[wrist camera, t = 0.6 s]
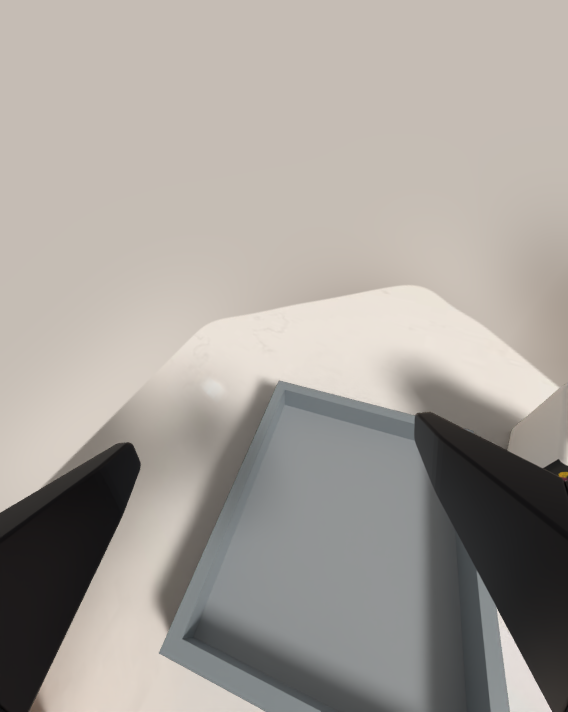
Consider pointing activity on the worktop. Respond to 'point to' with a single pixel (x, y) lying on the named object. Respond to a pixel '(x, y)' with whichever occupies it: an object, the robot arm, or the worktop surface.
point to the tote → (339, 574)
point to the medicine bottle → (545, 435)
